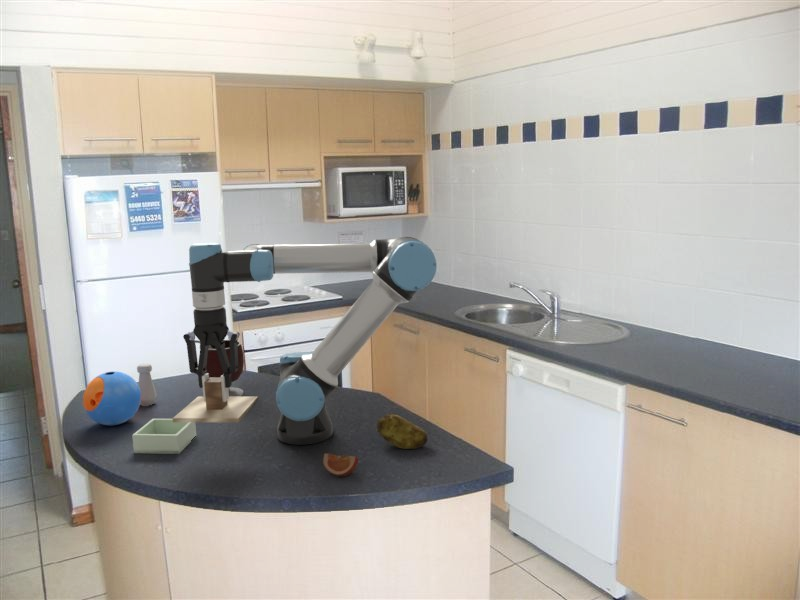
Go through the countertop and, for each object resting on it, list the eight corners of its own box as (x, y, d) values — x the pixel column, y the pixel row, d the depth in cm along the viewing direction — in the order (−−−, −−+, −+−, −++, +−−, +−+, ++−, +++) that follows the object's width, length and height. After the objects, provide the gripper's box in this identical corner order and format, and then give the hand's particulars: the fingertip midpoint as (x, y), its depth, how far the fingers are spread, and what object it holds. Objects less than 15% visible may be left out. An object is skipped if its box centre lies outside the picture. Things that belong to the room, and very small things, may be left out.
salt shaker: (161, 403, 211) (157, 363, 209) (146, 408, 207) (142, 368, 204) (149, 400, 215) (146, 361, 212) (134, 405, 210) (130, 365, 208)
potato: (413, 456, 167) (412, 426, 165) (372, 446, 174) (371, 416, 173) (431, 445, 173) (430, 416, 172) (391, 435, 181) (390, 407, 179)
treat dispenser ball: (153, 421, 195) (148, 371, 192) (101, 437, 183) (96, 384, 181) (126, 410, 205) (122, 362, 202) (76, 425, 193) (70, 374, 191)
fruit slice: (319, 477, 156) (318, 457, 155) (331, 465, 162) (330, 446, 162) (351, 482, 153) (350, 461, 153) (363, 470, 160) (362, 450, 159)
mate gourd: (232, 385, 228) (229, 329, 224) (253, 394, 218) (250, 335, 214) (190, 396, 218) (185, 336, 214) (210, 406, 208) (205, 344, 204)
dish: (196, 436, 183) (195, 418, 182) (178, 453, 171) (177, 435, 170) (154, 435, 184) (152, 418, 183) (134, 453, 172) (132, 435, 171)
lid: (258, 400, 172) (256, 370, 171) (238, 422, 157) (236, 389, 155) (198, 400, 174) (195, 370, 172) (173, 422, 158) (170, 389, 157)
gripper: (168, 310, 157) (177, 404, 162) (239, 310, 156) (245, 405, 160) (181, 304, 165) (189, 395, 169) (248, 304, 163) (254, 395, 168)
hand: (216, 399), depth 165 cm, fingers closed on lid, 4 cm apart
